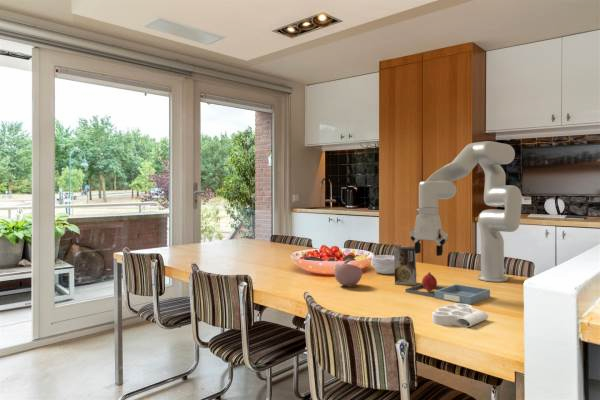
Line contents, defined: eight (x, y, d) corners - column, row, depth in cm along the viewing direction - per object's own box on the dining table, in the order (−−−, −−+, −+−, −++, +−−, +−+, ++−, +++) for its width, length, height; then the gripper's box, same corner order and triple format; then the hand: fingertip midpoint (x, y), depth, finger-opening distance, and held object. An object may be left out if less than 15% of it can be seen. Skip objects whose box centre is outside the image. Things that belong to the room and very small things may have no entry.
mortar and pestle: (365, 284, 194) (365, 258, 193) (357, 290, 183) (357, 262, 183) (340, 282, 199) (339, 257, 198) (330, 287, 188) (330, 261, 188)
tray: (455, 291, 178) (455, 284, 178) (489, 296, 168) (489, 289, 167) (434, 298, 167) (434, 291, 167) (469, 305, 156) (469, 297, 156)
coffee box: (416, 282, 196) (416, 246, 195) (415, 285, 189) (415, 248, 189) (395, 281, 199) (395, 245, 198) (394, 284, 192) (393, 247, 192)
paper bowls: (406, 271, 222) (406, 255, 222) (396, 276, 209) (395, 260, 209) (378, 268, 230) (378, 253, 230) (366, 273, 217) (366, 257, 217)
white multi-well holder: (464, 332, 129) (421, 321, 140) (493, 319, 141) (451, 310, 152) (464, 321, 129) (421, 311, 140) (493, 309, 140) (451, 301, 151)
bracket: (423, 286, 187) (423, 283, 187) (451, 291, 178) (451, 288, 178) (405, 291, 178) (405, 289, 178) (434, 297, 168) (433, 294, 168)
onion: (419, 290, 180) (419, 271, 180) (433, 289, 181) (433, 270, 180) (425, 293, 174) (424, 273, 174) (439, 293, 175) (439, 273, 175)
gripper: (404, 211, 180) (404, 253, 181) (443, 212, 168) (443, 257, 168) (414, 210, 186) (414, 251, 186) (453, 212, 173) (452, 255, 173)
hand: (428, 254), depth 177 cm, fingers open, 9 cm apart
